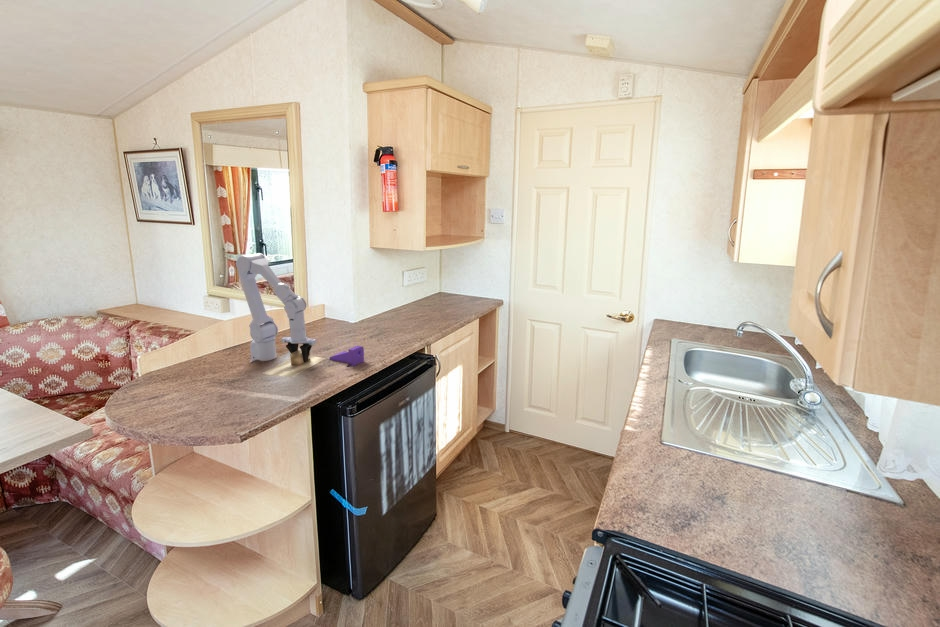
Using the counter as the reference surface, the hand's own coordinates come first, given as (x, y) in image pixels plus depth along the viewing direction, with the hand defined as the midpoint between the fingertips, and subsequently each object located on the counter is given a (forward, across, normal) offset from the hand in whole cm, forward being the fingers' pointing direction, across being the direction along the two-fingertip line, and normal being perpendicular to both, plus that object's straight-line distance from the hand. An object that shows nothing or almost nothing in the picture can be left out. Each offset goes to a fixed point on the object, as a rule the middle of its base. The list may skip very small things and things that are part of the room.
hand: (300, 360), depth 193 cm
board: (+2, 0, -4) cm, 4 cm away
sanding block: (+1, 0, 0) cm, 1 cm away
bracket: (+2, +16, +8) cm, 18 cm away
